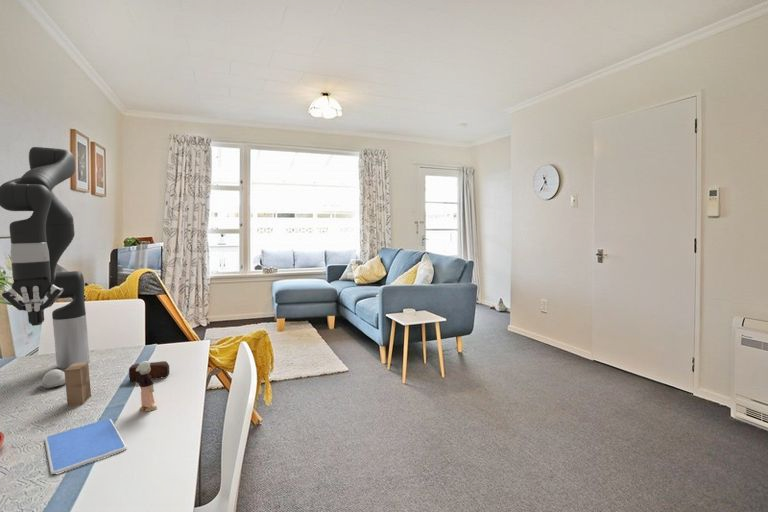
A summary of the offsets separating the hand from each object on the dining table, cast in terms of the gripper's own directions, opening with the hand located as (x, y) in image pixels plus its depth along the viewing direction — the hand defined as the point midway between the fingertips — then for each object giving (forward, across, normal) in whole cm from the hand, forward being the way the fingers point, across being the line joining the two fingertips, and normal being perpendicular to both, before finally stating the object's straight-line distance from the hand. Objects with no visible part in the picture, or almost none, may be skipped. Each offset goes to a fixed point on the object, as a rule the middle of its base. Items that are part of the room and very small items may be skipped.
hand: (36, 324), depth 104 cm
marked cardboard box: (+22, -8, 0) cm, 24 cm away
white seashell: (+23, +4, -18) cm, 29 cm away
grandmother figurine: (+23, -27, +13) cm, 38 cm away
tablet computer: (+23, -18, +28) cm, 40 cm away
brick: (+23, -23, -12) cm, 34 cm away
